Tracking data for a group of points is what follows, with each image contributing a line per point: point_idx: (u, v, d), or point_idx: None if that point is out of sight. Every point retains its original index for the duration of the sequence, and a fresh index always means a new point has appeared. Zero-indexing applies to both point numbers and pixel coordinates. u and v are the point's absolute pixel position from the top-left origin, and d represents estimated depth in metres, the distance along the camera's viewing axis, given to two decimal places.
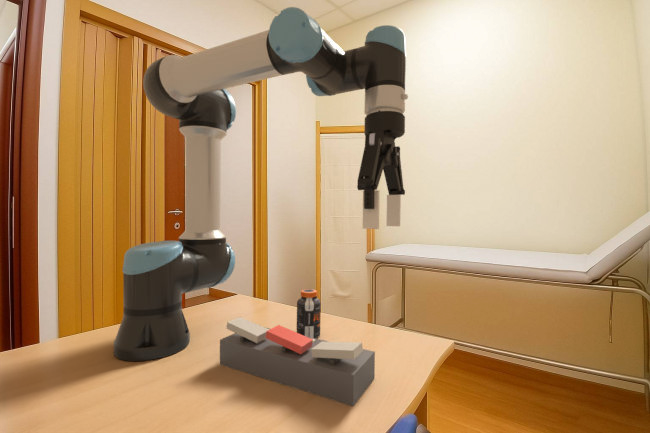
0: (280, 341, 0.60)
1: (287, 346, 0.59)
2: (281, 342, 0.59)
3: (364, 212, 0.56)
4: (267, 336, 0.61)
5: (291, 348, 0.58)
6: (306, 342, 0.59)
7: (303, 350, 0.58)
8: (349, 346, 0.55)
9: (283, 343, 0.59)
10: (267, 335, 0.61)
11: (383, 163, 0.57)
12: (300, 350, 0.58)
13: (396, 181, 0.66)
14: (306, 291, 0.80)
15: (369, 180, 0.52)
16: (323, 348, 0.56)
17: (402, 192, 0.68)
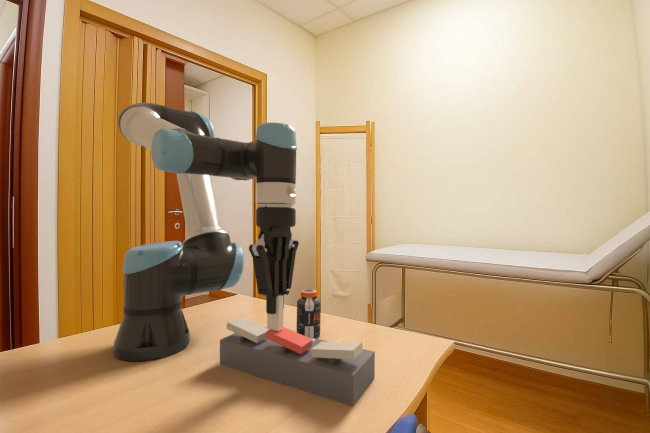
0: (280, 341, 0.60)
1: (287, 346, 0.59)
2: (281, 342, 0.59)
3: (268, 314, 0.62)
4: (267, 336, 0.61)
5: (291, 348, 0.58)
6: (306, 342, 0.59)
7: (303, 350, 0.58)
8: (349, 346, 0.55)
9: (283, 343, 0.59)
10: (267, 335, 0.61)
11: (276, 263, 0.61)
12: (300, 350, 0.58)
13: (281, 275, 0.63)
14: (306, 291, 0.80)
15: (267, 294, 0.59)
16: (323, 348, 0.56)
17: (285, 291, 0.63)
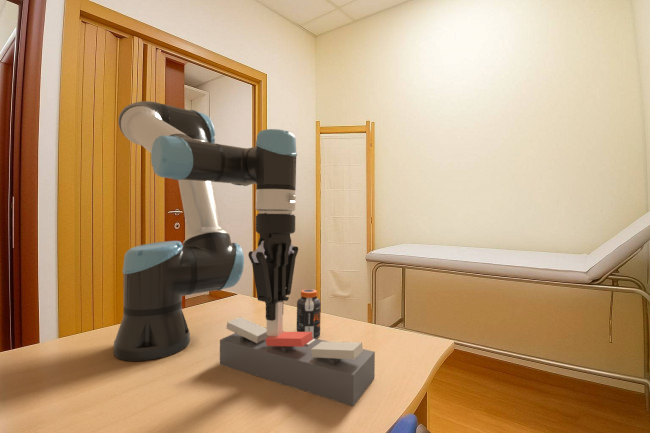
0: (280, 342, 0.60)
1: (288, 344, 0.59)
2: (281, 343, 0.59)
3: (267, 320, 0.62)
4: (267, 343, 0.61)
5: (292, 344, 0.58)
6: (305, 335, 0.59)
7: (304, 342, 0.58)
8: (349, 346, 0.55)
9: (283, 343, 0.59)
10: (267, 342, 0.61)
11: (276, 270, 0.61)
12: (300, 343, 0.58)
13: (281, 281, 0.63)
14: (306, 291, 0.80)
15: (266, 301, 0.59)
16: (323, 348, 0.56)
17: (285, 297, 0.63)
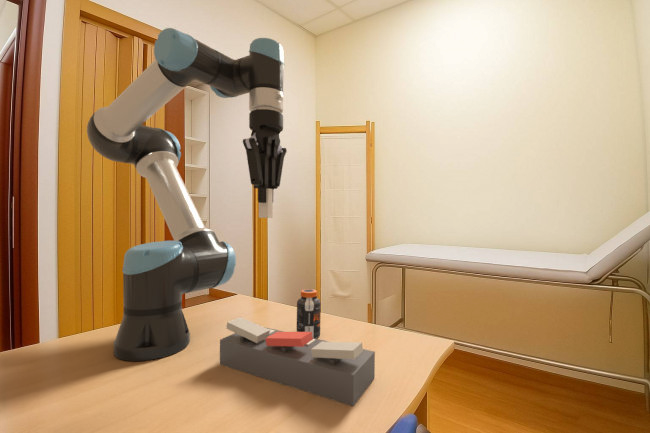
0: (280, 342, 0.60)
1: (288, 344, 0.59)
2: (281, 343, 0.59)
3: (259, 205, 0.73)
4: (267, 343, 0.61)
5: (292, 344, 0.58)
6: (305, 335, 0.59)
7: (304, 342, 0.58)
8: (349, 346, 0.55)
9: (283, 343, 0.59)
10: (267, 342, 0.61)
11: (266, 159, 0.71)
12: (300, 343, 0.58)
13: (271, 172, 0.73)
14: (306, 291, 0.80)
15: (258, 182, 0.70)
16: (323, 348, 0.56)
17: (274, 186, 0.73)
